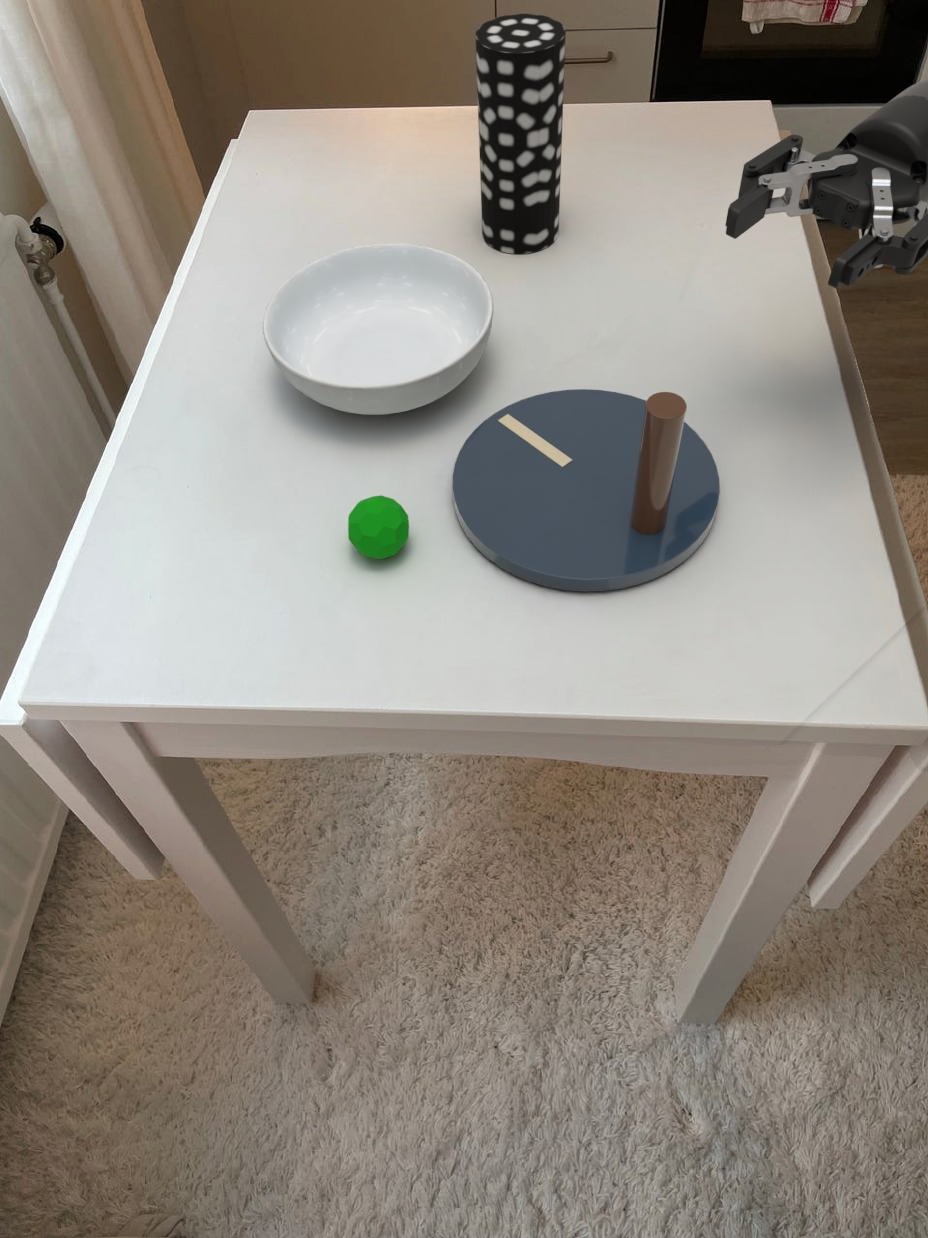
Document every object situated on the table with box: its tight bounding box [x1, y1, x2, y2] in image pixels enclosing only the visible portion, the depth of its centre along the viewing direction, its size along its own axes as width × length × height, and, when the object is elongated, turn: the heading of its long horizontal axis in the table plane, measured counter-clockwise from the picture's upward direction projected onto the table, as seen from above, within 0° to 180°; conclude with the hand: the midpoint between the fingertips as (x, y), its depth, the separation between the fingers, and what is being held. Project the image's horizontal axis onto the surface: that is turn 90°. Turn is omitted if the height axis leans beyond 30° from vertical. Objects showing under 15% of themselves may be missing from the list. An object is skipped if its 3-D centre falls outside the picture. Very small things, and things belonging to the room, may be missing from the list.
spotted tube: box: [475, 13, 567, 255], centre depth 96 cm, size 8×8×20 cm
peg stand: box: [452, 388, 721, 592], centre depth 75 cm, size 22×22×14 cm
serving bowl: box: [262, 242, 494, 416], centre depth 88 cm, size 21×21×7 cm
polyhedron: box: [347, 494, 410, 560], centre depth 76 cm, size 5×5×5 cm
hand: (781, 250), depth 65 cm, fingers open, 8 cm apart
